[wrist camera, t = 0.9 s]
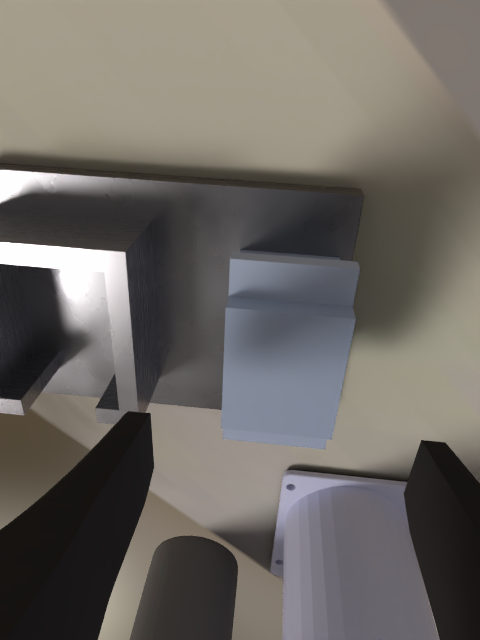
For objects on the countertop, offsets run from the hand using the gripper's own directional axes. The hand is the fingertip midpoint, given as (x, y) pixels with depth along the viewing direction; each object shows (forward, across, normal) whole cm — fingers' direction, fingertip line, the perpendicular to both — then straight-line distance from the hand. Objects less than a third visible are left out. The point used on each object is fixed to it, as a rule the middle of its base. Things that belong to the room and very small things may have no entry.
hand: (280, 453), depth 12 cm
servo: (+8, 0, 0) cm, 8 cm away
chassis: (+9, +5, 0) cm, 11 cm away
